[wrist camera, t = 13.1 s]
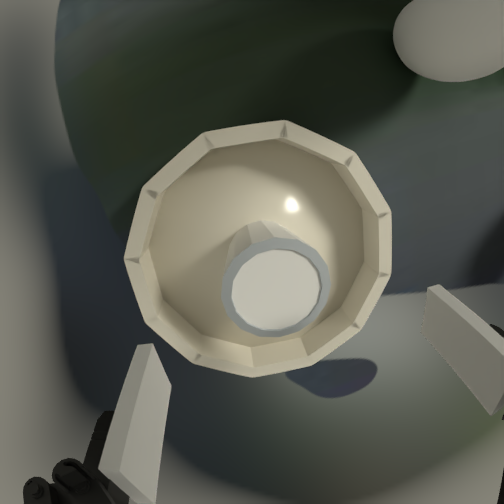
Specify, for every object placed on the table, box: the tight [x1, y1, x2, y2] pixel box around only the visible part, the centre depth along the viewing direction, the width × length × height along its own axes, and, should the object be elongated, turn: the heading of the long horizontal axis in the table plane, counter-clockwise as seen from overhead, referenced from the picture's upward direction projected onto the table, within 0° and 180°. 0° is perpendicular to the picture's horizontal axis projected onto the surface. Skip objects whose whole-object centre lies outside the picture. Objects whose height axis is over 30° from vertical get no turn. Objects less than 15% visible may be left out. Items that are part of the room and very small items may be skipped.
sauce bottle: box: [393, 0, 504, 82], centre depth 12 cm, size 8×8×18 cm
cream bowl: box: [124, 120, 392, 377], centre depth 24 cm, size 20×20×4 cm
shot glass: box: [221, 220, 331, 337], centre depth 21 cm, size 7×7×7 cm
